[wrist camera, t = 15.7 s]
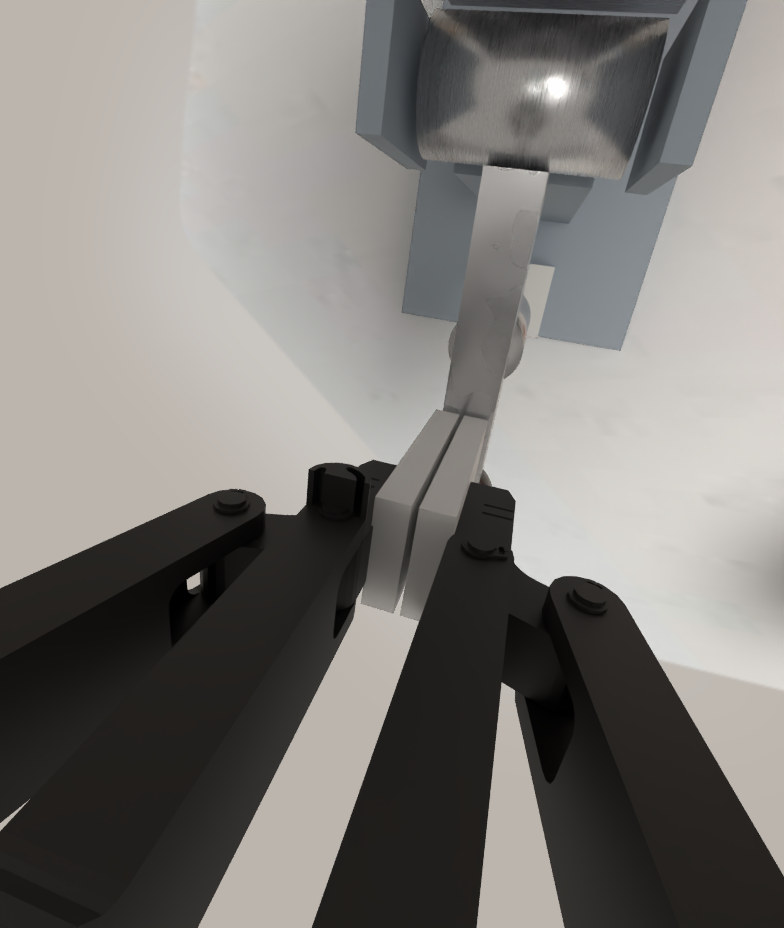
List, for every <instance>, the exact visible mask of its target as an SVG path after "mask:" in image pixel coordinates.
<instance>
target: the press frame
mask: <svg viewBox="0 0 784 928" xmlns="http://www.w3.org/2000/svg"><path fill="white" fill-rule="evenodd" d="M746 3H747V0H687V1H686V2H685V3H684V5H683V6H682V8H681V9H680V11H679V12H678V14H658V13H633V12H608V11H583V10H557V9H532V8H507V7H482V6H457V5H451V4H450V2H449V1H448V0H444V1H443V9H462V10H487V11H511V12H535V13H559V14H583V15H608V16H632V17H656V18H669V28H668V33H667V38H666V43H665V47H664V51H663V55H662V59H661V63H660V67H659V70H658V74H657V78H656V81H655V85H654V88H653V91H652V95H651V98H650V101H649V105H648V108H647V111H646V114H645V117H644V121H643V124H642V127H641V130H640V133H639V136H638V139H637V141H636V144H635V147H634V150H633V153H632V155H631V158H630V160H629V163H628V165H627V168H626V170H625V172H624V174H623V176H622V178H621V179H620V180H612V179H602V178H593V177H584V176H574V175H565V174H556V173H550V177H549V181H548V186H547V190H546V195H545V199H544V203H543V208H542V212H541V217H540V221H539V225H538V230H537V234H536V239H535V243H534V247H533V252H532V256H531V260H530V265H529V269H528V274H527V278H526V282H525V287H524V291H523V295H524V296H525V298H526V299H527V301H528V303H529V306H530V311H531V318H530V323H529V327H528V332H527V337H532V338H537V337H538V336H539V337H545V338H550V339H556V340H562V341H568V342H573V343H579V344H585V345H591V346H596V347H602V348H608V349H613V350H619V351H621V348H622V345H623V342H624V338H625V335H626V332H627V329H628V326H629V323H630V320H631V317H632V314H633V311H634V308H635V305H636V302H637V298H638V295H639V292H640V289H641V286H642V283H643V280H644V277H645V274H646V271H647V268H648V265H649V262H650V258H651V255H652V252H653V249H654V246H655V243H656V240H657V237H658V234H659V231H660V228H661V225H662V222H663V218H664V215H665V212H666V209H667V206H668V203H669V200H670V197H671V194H672V191H673V188H674V185H675V182H676V178H677V175H679V174H680V173H682V172H684V171H685V170H687V169H688V168H690V167H691V166H692V165H693V162H694V159H695V156H696V153H697V150H698V147H699V144H700V141H701V138H702V135H703V132H704V129H705V126H706V123H707V120H708V117H709V114H710V111H711V108H712V105H713V102H714V99H715V96H716V93H717V90H718V87H719V84H720V81H721V78H722V75H723V72H724V69H725V66H726V63H727V60H728V57H729V54H730V51H731V48H732V45H733V42H734V39H735V36H736V33H737V30H738V27H739V24H740V21H741V18H742V15H743V12H744V9H745V6H746ZM429 20H430V19H429V17H428V15H427V13H426V11H425V8H424V6H423V4H422V2H421V0H367V1H366V13H365V25H364V37H363V49H362V61H361V73H360V85H359V97H358V109H357V121H356V133H357V134H358V135H359V136H361V137H362V138H364V139H365V140H367V141H368V142H369V143H371V144H372V145H374V146H375V147H377V148H378V149H380V150H381V151H382V152H384V153H385V154H387V155H388V156H390V157H391V158H392V159H394V160H395V161H397V162H398V163H400V164H401V165H403V166H404V167H405V168H407V169H416V170H421V173H420V180H419V188H418V195H417V203H416V210H415V218H414V225H413V233H412V240H411V248H410V255H409V263H408V270H407V277H406V285H405V292H404V300H403V307H402V313H407V314H413V315H418V316H424V317H430V318H435V319H441V320H447V321H453V322H458V317H459V311H460V305H461V299H462V292H463V286H464V280H465V274H466V268H467V262H468V256H469V250H470V244H471V238H472V231H473V225H474V219H475V213H476V207H477V201H478V195H479V189H480V183H481V177H482V171H483V166H480V165H471V164H462V163H452V162H443V161H434V160H425V159H423V158H422V157H421V154H420V151H419V147H418V141H417V131H416V96H417V82H418V72H419V64H420V57H421V51H422V46H423V41H424V37H425V33H426V29H427V26H428V22H429Z"/></svg>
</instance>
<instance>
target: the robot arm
mask: <svg viewBox="0 0 784 928" xmlns="http://www.w3.org/2000/svg"><path fill="white" fill-rule="evenodd" d="M459 415H460V414H456V413H451V412H446V411H441V410H437V409H436V411H435V412H434V414H433V415H432V417H431V418H430V419H429V421H428V422H427V424H426V425H425V426H424V428H423V429H422V431H421V432H420V434H419V435H418V436H417V438H416V439H415V441H414V442H413V444H412V445H411V446H410V448H409V449H408V451H407V452H406V454H405V455H404V456H403V458H402V459H401V461H400V462H399V464H398V465H393V464H388V463H384V462H380V461H376V460H372V461H369V462H367V463H364V464H362V465H360V466H359V467H355V466H353V465H349V464H343V463H324V464H319V465H316V466H314V467H312V468H310V469H309V473H308V488H307V502H306V505H305V507H304V508H303V509H302V510H301V511H300V512H299V513H298V514H297V515H277V514H265V508H266V504H265V502H264V500H263V498H262V497H260V496H259V495H257V494H255V493H252V492H249V491H246V490H241V489H239V490H237V489H229V490H222V491H217V492H214V493H211V494H208V495H206V496H204V497H202V498H199V499H197V500H195V501H193V502H190V503H188V504H186V505H184V506H182V507H179V508H177V509H175V510H173V511H171V512H168V513H166V514H164V515H162V516H159V517H157V518H155V519H153V520H151V521H148V522H146V523H144V524H142V525H139V526H137V527H135V528H133V529H131V530H128V531H126V532H124V533H122V534H120V535H117V536H115V537H113V538H111V539H108V540H107V541H104V542H102V543H100V544H98V545H95V546H93V547H91V548H89V549H86V550H84V551H82V552H80V553H78V554H75V555H73V556H71V557H69V558H66V559H64V560H62V561H60V562H58V563H55V564H53V565H51V566H49V567H47V568H44V569H42V570H40V571H38V572H36V573H33V574H31V575H29V576H27V577H24V578H23V579H20V580H18V581H16V582H13V583H11V584H9V585H7V586H4V587H2V588H1V589H0V823H1V822H2V821H3V820H4V819H5V818H7V817H8V816H9V815H11V814H12V813H13V812H14V811H16V810H17V809H18V808H19V807H21V806H22V805H23V804H24V803H26V802H27V801H28V800H29V799H30V800H29V801H28V802H27V803H26V804H25V805H24V806H23V807H22V809H21V810H20V811H19V812H18V813H17V814H16V815H15V816H14V817H13V818H12V819H11V820H10V821H9V822H8V824H7V825H6V826H5V827H4V828H3V829H2V830H1V831H0V928H198V926H199V924H200V922H201V920H202V918H203V916H204V914H205V912H206V910H207V908H208V906H209V904H210V902H211V900H212V898H213V896H214V894H215V892H216V890H217V888H218V886H219V884H220V882H221V880H222V878H223V876H224V874H225V872H226V870H227V868H228V866H229V864H230V862H231V860H232V858H233V857H234V854H235V853H236V850H237V848H238V847H239V845H240V843H241V841H242V838H243V837H244V835H245V833H246V831H247V829H248V827H249V825H250V823H251V821H252V819H253V817H254V815H255V813H256V811H257V809H258V807H259V805H260V802H261V801H262V799H263V797H264V795H265V793H266V791H267V789H268V787H269V785H270V783H271V781H272V779H273V777H274V775H275V773H276V771H277V769H278V767H279V765H280V763H281V761H282V759H283V757H284V755H285V753H286V751H287V749H288V747H289V745H290V743H291V741H292V739H293V737H294V735H295V733H296V731H297V729H298V727H299V725H300V723H301V721H302V719H303V717H304V715H305V713H306V711H307V709H308V707H309V706H310V703H311V702H312V699H313V697H314V696H315V694H316V692H317V690H318V687H319V686H320V684H321V682H322V680H323V677H324V675H325V674H326V672H327V670H328V668H329V666H330V664H331V662H332V660H333V658H334V655H335V654H336V652H337V650H338V648H339V646H340V644H341V642H342V640H343V638H344V636H345V634H346V632H347V630H348V628H349V626H350V624H351V622H352V620H353V617H354V612H355V605H356V598H357V597H358V595H359V593H360V591H361V589H362V587H363V592H362V599H361V604H364V605H367V606H371V607H374V608H377V609H380V610H384V611H387V612H391V613H394V611H395V608H396V606H397V603H398V601H399V599H400V596H401V594H402V591H403V589H404V587H405V590H404V596H403V601H402V607H401V613H400V615H401V616H404V617H407V618H411V619H414V620H417V621H419V624H418V626H417V629H416V632H415V635H414V638H413V641H412V643H411V646H410V649H409V652H408V655H407V658H406V661H405V663H404V666H403V669H402V672H401V675H400V678H399V680H398V683H397V686H396V689H395V692H394V695H393V698H392V701H391V703H390V706H389V709H388V712H387V715H386V718H385V720H384V724H383V726H382V729H381V732H380V735H379V738H378V740H377V743H376V746H375V749H374V752H373V755H372V757H371V760H370V764H369V766H368V769H367V772H366V775H365V777H364V780H363V783H362V786H361V789H360V792H359V795H358V797H357V800H356V803H355V806H354V809H353V812H352V814H351V817H350V820H349V823H348V826H347V829H346V832H345V834H344V837H343V840H342V843H341V846H340V849H339V851H338V854H337V857H336V860H335V863H334V866H333V868H332V872H331V874H330V877H329V880H328V883H327V886H326V889H325V891H324V894H323V897H322V900H321V903H320V906H319V908H318V911H317V914H316V917H315V920H314V923H313V925H312V928H476V926H477V917H478V907H479V898H480V888H481V878H482V867H483V858H484V848H485V839H486V829H487V819H488V809H489V799H490V789H491V779H492V770H493V761H494V750H495V741H496V730H497V722H498V712H499V701H500V691H501V682H503V683H504V684H506V685H507V686H509V687H511V688H513V689H514V690H515V703H516V707H517V712H518V717H519V721H520V725H521V730H522V735H523V739H524V744H525V749H526V753H527V758H528V762H529V767H530V772H531V776H532V780H533V785H534V790H535V794H536V799H537V803H538V808H539V813H540V817H541V822H542V826H543V831H544V835H545V840H546V845H547V849H548V854H549V858H550V863H551V868H552V872H553V877H554V881H555V886H556V891H557V895H558V900H559V904H560V909H561V913H562V918H563V922H564V927H565V928H784V876H783V874H782V873H781V871H780V869H779V868H778V866H777V864H776V862H775V861H774V859H773V857H772V856H771V854H770V852H769V850H768V849H767V847H766V845H765V843H764V842H763V840H762V838H761V837H760V835H759V833H758V832H757V830H756V828H755V827H754V825H753V823H752V821H751V819H750V818H749V816H748V814H747V813H746V811H745V810H744V808H743V806H742V804H741V802H740V801H739V799H738V797H737V796H736V794H735V792H734V790H733V789H732V787H731V785H730V784H729V782H728V780H727V779H726V777H725V775H724V773H723V772H722V770H721V768H720V766H719V765H718V763H717V761H716V760H715V758H714V756H713V755H712V753H711V751H710V749H709V748H708V746H707V744H706V743H705V741H704V739H703V738H702V736H701V734H700V732H699V731H698V729H697V727H696V726H695V724H694V722H693V720H692V719H691V717H690V715H689V713H688V712H687V710H686V708H685V707H684V705H683V703H682V701H681V700H680V698H679V696H678V695H677V693H676V691H675V689H674V688H673V686H672V684H671V683H670V681H669V679H668V677H667V676H666V674H665V672H664V671H663V669H662V667H661V666H660V664H659V662H658V660H657V659H656V657H655V655H654V654H653V652H652V650H651V648H650V647H649V645H648V643H647V642H646V640H645V638H644V636H643V635H642V633H641V631H640V630H639V628H638V626H637V624H636V623H635V621H634V619H633V618H632V616H631V614H630V612H629V611H628V609H627V607H626V606H625V604H624V603H623V602H622V601H621V599H620V598H619V597H618V596H617V595H616V594H615V593H613V592H612V591H610V590H609V589H608V588H606V587H605V586H603V585H601V584H599V583H596V582H595V581H592V580H590V579H585V578H581V577H577V576H563V577H560V578H558V579H555V580H554V581H553V582H552V584H551V585H550V587H548V586H546V585H544V584H542V583H540V582H538V581H536V580H534V579H532V578H531V577H529V576H527V575H526V574H525V573H523V572H522V571H521V570H520V569H519V568H518V567H517V566H516V565H515V563H514V556H513V552H512V550H511V544H512V533H513V523H514V511H515V502H516V501H515V500H514V498H513V497H512V495H511V494H510V492H509V491H508V490H504V489H500V488H496V487H491V486H487V485H483V484H479V483H475V482H474V481H475V476H476V472H477V467H478V463H479V458H480V454H481V450H482V445H483V441H484V436H485V432H486V427H487V423H488V420H484V419H479V418H475V417H470V416H465V415H464V417H463V419H462V421H461V423H460V425H459V427H458V429H457V425H458V420H459ZM456 430H457V431H456ZM198 572H200V585H198V586H196V587H195V588H193V589H190V590H188V589H187V579H188V578H190V577H192V576H193V575H195V574H197V573H198ZM405 584H406V585H405Z"/></svg>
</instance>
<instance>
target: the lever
mask: <svg viewBox="0 0 784 928" xmlns="http://www.w3.org/2000/svg"><path fill="white" fill-rule="evenodd" d="M448 1H449V2H450V4H451V5H457V6H482V7H507V8H532V9H557V10H583V11H608V12H633V13H658V14H678V12H679V11H680V9H681V8H682V6H683V5H684V3H685V2H686V1H687V0H448ZM668 28H669V18H656V17H632V16H608V15H583V14H559V13H535V12H511V11H487V10H462V9H438V8H437V9H436V10H435V11H434V12H433V13H432V15H431V17H430V20H429V22H428V26H427V29H426V33H425V37H424V41H423V46H422V51H421V57H420V64H419V72H418V82H417V96H416V131H417V141H418V147H419V151H420V154H421V157H422V158H423V159H425V160H434V161H443V162H452V163H462V164H471V165H480V166H483V171H482V177H481V183H480V189H479V195H478V201H477V207H476V213H475V219H474V225H473V231H472V238H471V244H470V250H469V256H468V262H467V268H466V274H465V280H464V286H463V292H462V299H461V305H460V311H459V317H458V323H457V325H456V326H455V328H454V329H453V331H452V333H451V336H450V340H449V356H450V359H451V366H450V372H449V378H448V384H447V390H446V396H445V402H444V408H443V411H446V412H451V413H456V414H460V415H459V420H458V425H457V429H458V427H459V425H460V423H461V421H462V419H463V417H464V415H465V416H470V417H475V418H479V419H484V420H488V423H487V427H486V432H485V436H484V441H483V445H482V450H481V454H480V458H479V463H478V467H477V472H476V476H475V481H474V482H475V483H479V484H483V485H487V486H491V487H492V485H491V481H490V479H489V477H488V475H487V474H486V472H485V471H484V470H483V467H484V463H485V458H486V454H487V449H488V445H489V441H490V436H491V432H492V427H493V423H494V419H495V414H496V410H497V406H498V401H499V397H500V392H501V388H502V384H503V379H505V378H506V377H508V376H509V375H510V374H511V373H512V372H513V371H514V370H515V369H516V367H517V366H518V364H519V362H520V360H521V357H522V353H523V349H524V344H525V340H526V336H527V332H528V327H529V323H530V318H531V311H530V306H529V303H528V301H527V299H526V298H525V296H524V295H523V291H524V287H525V282H526V278H527V274H528V269H529V265H530V260H531V256H532V252H533V247H534V243H535V239H536V234H537V230H538V225H539V221H540V217H541V212H542V208H543V203H544V199H545V195H546V190H547V186H548V181H549V177H550V173H556V174H565V175H574V176H584V177H593V178H602V179H612V180H620V179H621V178H622V176H623V174H624V172H625V170H626V168H627V165H628V163H629V160H630V158H631V155H632V153H633V150H634V147H635V144H636V141H637V139H638V136H639V133H640V130H641V127H642V124H643V121H644V117H645V114H646V111H647V108H648V105H649V101H650V98H651V95H652V91H653V88H654V85H655V81H656V78H657V74H658V70H659V67H660V63H661V59H662V55H663V51H664V47H665V43H666V38H667V33H668ZM456 431H457V430H456Z"/></svg>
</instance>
